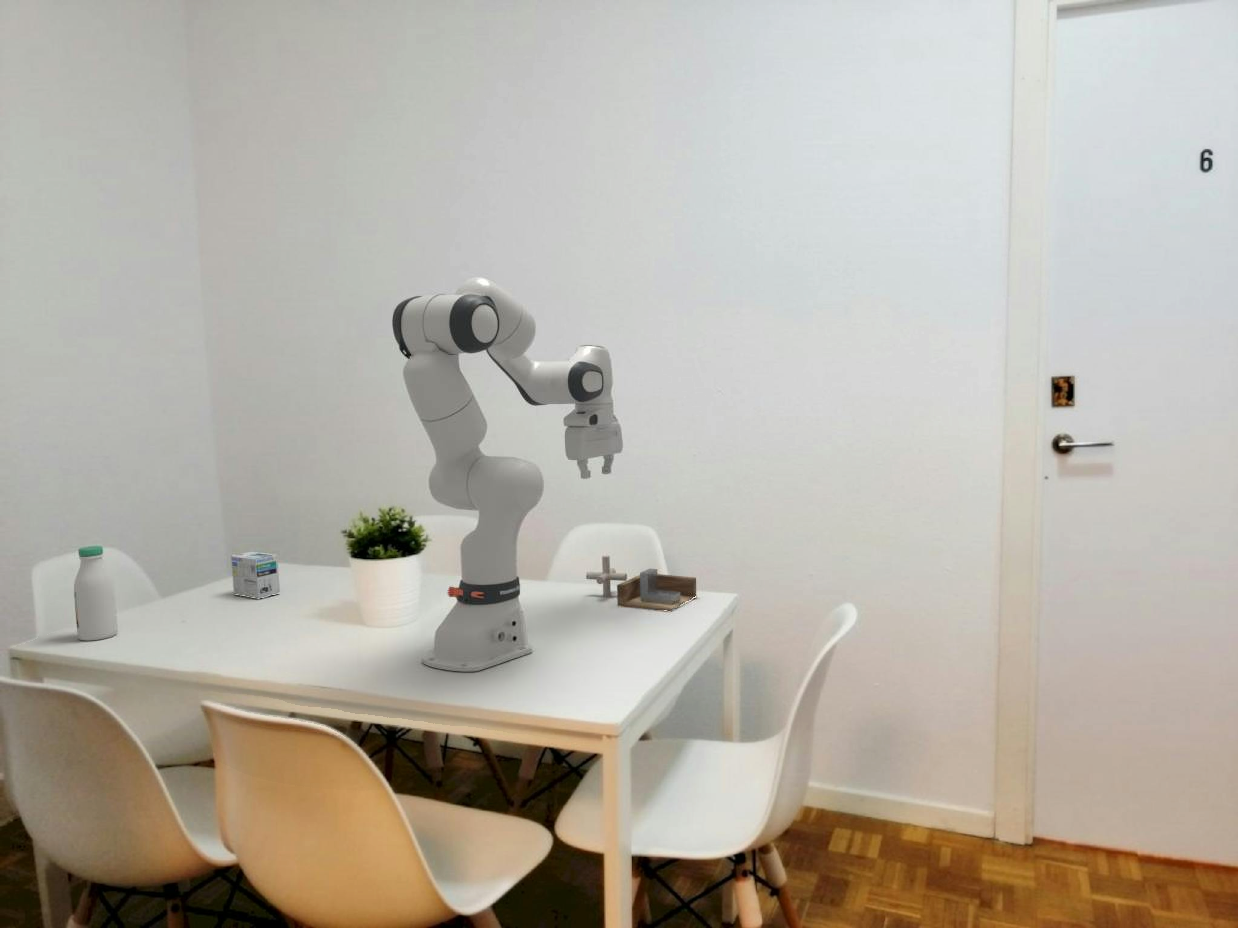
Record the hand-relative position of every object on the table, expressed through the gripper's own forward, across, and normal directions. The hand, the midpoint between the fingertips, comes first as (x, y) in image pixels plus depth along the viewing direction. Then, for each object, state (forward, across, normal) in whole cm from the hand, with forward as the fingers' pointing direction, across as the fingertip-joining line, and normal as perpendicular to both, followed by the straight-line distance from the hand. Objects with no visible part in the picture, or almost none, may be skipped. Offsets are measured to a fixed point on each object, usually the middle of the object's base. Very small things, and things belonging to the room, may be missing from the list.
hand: (596, 476), depth 209 cm
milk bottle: (+31, +66, -90) cm, 116 cm away
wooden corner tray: (+31, -10, +10) cm, 34 cm away
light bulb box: (+31, +25, -89) cm, 98 cm away
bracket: (+30, -9, +11) cm, 34 cm away
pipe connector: (+31, -10, -4) cm, 33 cm away
